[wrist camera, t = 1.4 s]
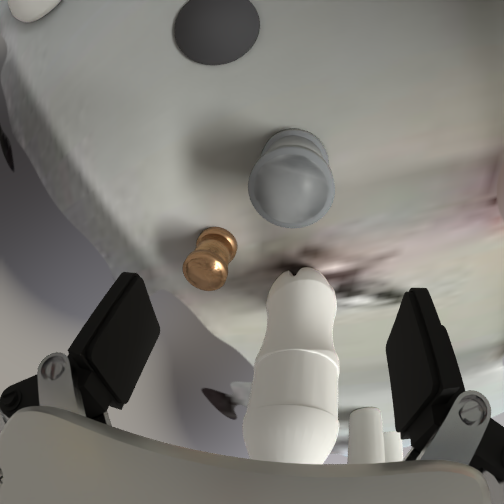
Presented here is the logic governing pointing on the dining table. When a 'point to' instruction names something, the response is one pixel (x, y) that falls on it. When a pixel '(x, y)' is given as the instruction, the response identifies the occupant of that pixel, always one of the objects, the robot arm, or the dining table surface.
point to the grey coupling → (292, 180)
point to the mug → (366, 437)
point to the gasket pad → (216, 30)
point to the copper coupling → (210, 259)
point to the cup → (393, 447)
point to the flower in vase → (31, 9)
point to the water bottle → (295, 374)
